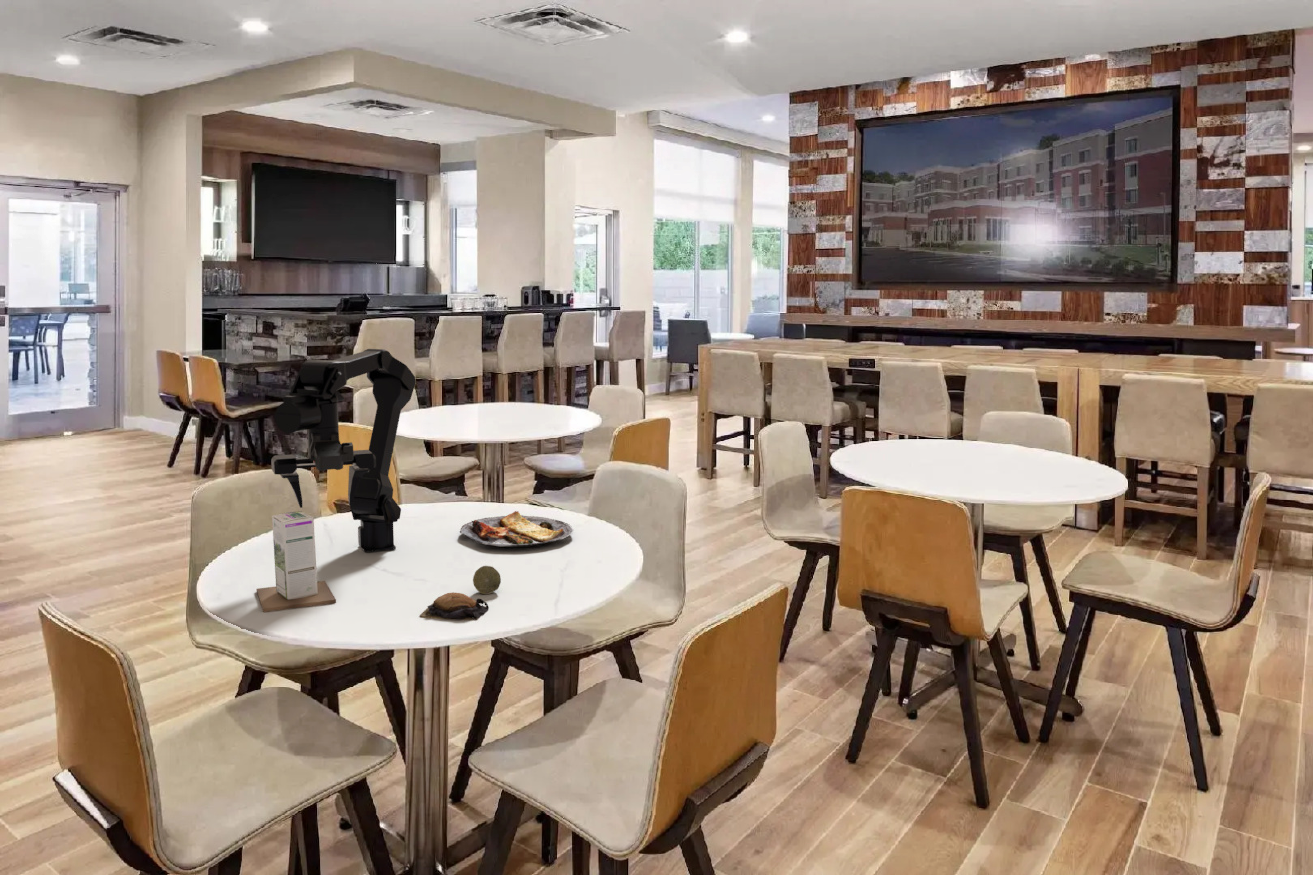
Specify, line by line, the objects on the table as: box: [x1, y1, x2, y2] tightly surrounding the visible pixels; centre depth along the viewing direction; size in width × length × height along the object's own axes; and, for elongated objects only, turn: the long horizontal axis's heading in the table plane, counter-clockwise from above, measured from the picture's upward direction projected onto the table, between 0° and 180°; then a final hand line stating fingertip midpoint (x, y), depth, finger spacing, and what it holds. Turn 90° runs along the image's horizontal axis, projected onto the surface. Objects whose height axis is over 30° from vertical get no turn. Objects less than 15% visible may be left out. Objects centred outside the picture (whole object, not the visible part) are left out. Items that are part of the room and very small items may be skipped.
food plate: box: [459, 510, 574, 548], centre depth 221 cm, size 25×23×4 cm
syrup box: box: [271, 510, 318, 600], centre depth 176 cm, size 6×6×14 cm
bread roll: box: [419, 591, 490, 621], centre depth 171 cm, size 11×8×4 cm
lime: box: [472, 565, 502, 595], centre depth 181 cm, size 4×5×5 cm
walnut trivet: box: [256, 580, 337, 613], centre depth 177 cm, size 12×12×1 cm
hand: (325, 505), depth 192 cm, fingers open, 9 cm apart
